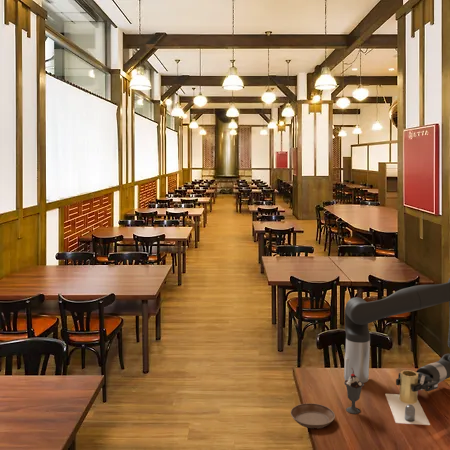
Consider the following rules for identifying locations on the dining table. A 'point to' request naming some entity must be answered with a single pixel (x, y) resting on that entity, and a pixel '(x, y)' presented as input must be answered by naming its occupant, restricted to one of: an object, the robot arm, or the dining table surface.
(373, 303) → the robot arm
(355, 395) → the sundae
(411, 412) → the post
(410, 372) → the sleeve
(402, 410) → the mat
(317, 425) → the saucer
